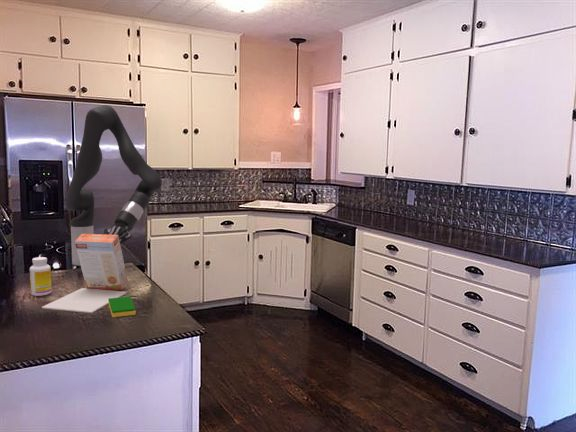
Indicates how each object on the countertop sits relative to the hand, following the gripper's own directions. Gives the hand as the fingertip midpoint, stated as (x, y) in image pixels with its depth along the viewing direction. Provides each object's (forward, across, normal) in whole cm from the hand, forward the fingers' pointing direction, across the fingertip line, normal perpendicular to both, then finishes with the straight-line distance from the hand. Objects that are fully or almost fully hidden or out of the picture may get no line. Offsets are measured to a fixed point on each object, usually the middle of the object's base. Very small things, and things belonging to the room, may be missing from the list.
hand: (104, 252), depth 178 cm
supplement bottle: (+22, -14, -2) cm, 26 cm away
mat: (+19, +5, +1) cm, 20 cm away
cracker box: (+9, 0, +10) cm, 13 cm away
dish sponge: (+19, +22, +1) cm, 29 cm away
